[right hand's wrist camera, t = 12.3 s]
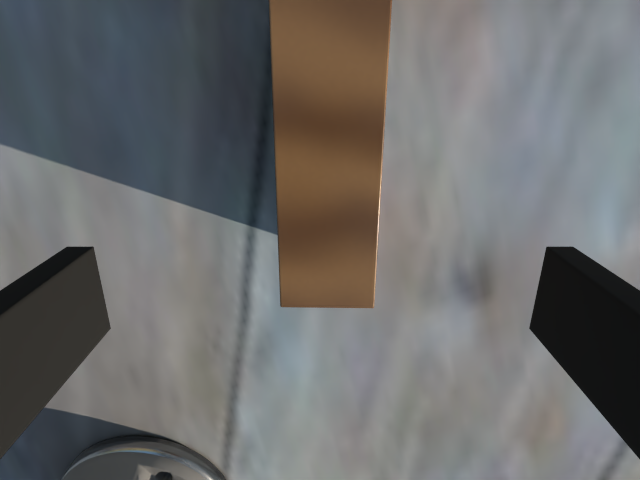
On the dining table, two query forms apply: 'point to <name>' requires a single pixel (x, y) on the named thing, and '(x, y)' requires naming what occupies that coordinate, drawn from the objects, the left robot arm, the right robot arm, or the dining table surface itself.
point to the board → (328, 146)
